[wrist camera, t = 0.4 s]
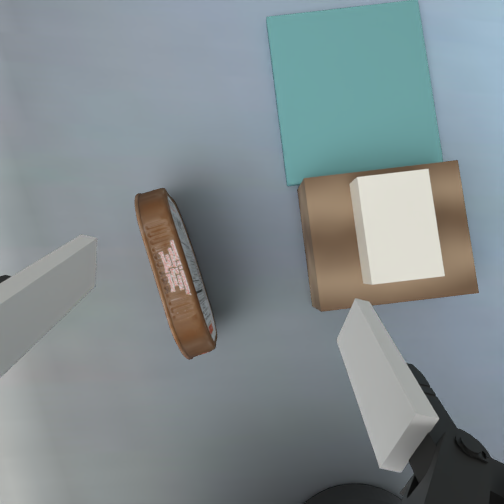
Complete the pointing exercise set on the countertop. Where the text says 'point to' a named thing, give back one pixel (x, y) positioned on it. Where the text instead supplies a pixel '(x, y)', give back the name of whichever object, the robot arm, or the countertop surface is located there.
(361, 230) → the white rectangular block
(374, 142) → the mat
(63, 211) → the countertop surface
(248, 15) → the countertop surface
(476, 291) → the brown wooden block
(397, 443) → the robot arm
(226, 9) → the countertop surface
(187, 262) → the tin
